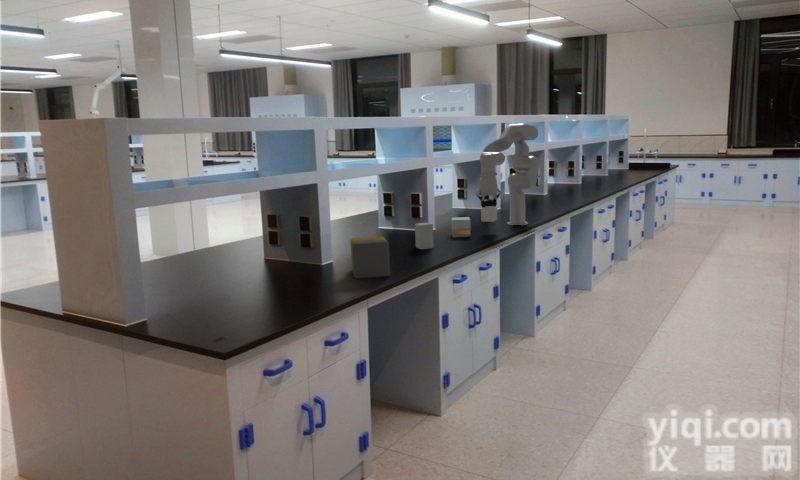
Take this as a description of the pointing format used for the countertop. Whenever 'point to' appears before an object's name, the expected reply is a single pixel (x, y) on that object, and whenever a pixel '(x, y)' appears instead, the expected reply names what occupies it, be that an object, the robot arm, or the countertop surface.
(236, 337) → the countertop surface
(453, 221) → the tower top block
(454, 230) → the tower base block
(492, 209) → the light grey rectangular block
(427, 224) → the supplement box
